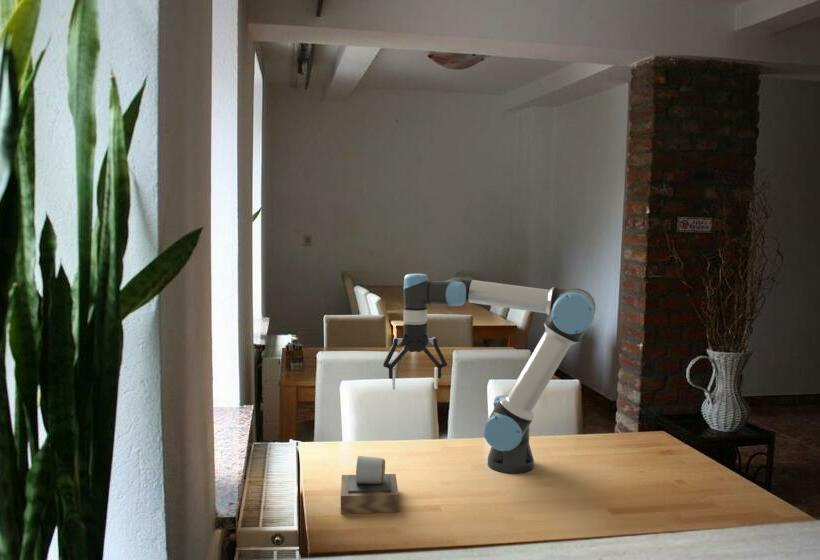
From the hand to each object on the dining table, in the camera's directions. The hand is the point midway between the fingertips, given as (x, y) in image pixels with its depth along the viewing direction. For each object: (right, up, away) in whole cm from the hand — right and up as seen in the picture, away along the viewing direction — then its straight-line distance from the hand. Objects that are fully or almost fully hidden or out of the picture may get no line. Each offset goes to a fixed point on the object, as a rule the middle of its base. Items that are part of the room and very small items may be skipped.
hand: (414, 388), depth 233 cm
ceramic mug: (-13, -24, -23) cm, 35 cm away
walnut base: (-13, -29, -23) cm, 40 cm away
